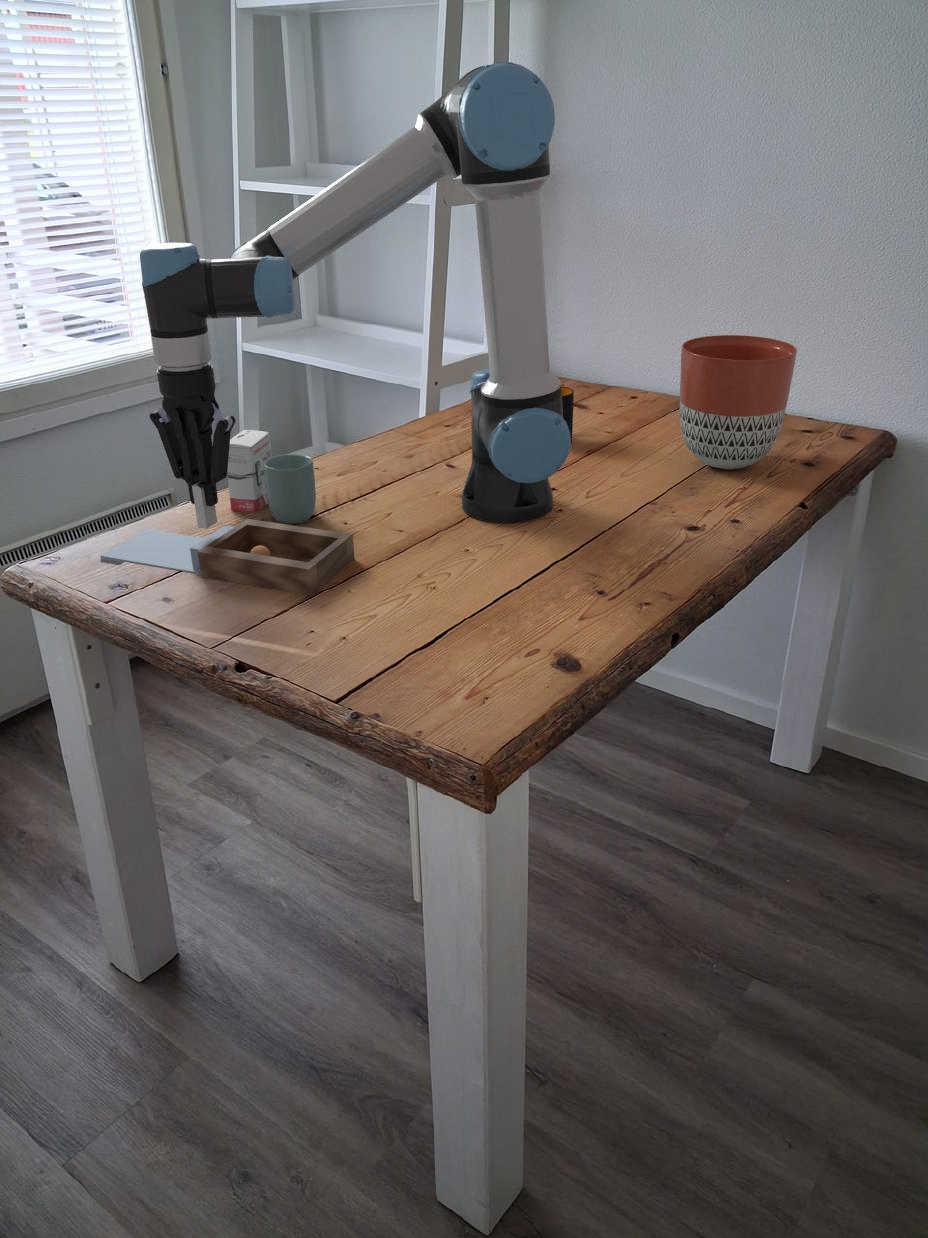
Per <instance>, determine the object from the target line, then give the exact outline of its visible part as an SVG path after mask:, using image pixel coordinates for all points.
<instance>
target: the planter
mask: <svg viewBox="0 0 928 1238" xmlns="http://www.w3.org/2000/svg"><path fill="white" fill-rule="evenodd" d="M680 352H681V353H680V380H679V381H680V383H679V384H680V385H679V386H680V387H679V424H680V431H681V432H680V433H681V435H682V439H683V441H684V443H685V445H686V447H687V449H688V450H689V452H690V453H691V454H692V455H693V456H694V457H695V458H696V459H697V460H698V461H699V462H702V463H703V464H704V465H707V466H709V467H712V468H715V469H720V470H739V469H744V468H746V467H751V465H754V464H755V463H757V462H759V461H760V460H761V459H763V458H764V457H765V456H766V455H767V454H768V453H769V452H770V451H771V450H772V448H774V446H775V444H776V442H777V440H778V438H779V435H780V434H781V430H782V428H783V424H784V420H785V416H786V410H787V406H788V401H789V395H790V389H791V385H792V379H793V376H794V371H795V365H796V359H797V355H798V349H797V347H796V346H794V345H793V344H791V343H789V342H787V341H782V340H778V339H775V338H769V337H764V336H755V335H738V334H736V335H735V334H734V335H732V334H726V335H725V334H719V335H718V334H717V335H708V336H707V335H706V336H700V337H695V338H691V339H688V340H686V341H685V342H683V343H682V345H681V351H680Z"/></svg>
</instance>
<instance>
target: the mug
mask: <svg viewBox="0 0 928 1238" xmlns="http://www.w3.org/2000/svg"><path fill="white" fill-rule="evenodd" d="M561 392H562V408H563V419H564V420H565V421H566V423H567V425H568V427H569V431H570V436H571V445H573V428H574V427H573V425H574V423H573V422H574V401H575V400H574V399H575V398H574V397H575V394H574V393H575V392H574V390H573V388H570V387H569V386H562V385H561Z"/></svg>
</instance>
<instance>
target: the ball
mask: <svg viewBox="0 0 928 1238" xmlns="http://www.w3.org/2000/svg"><path fill="white" fill-rule="evenodd" d="M250 553H252V554H258V555H264V556H271V554H270V551H269V549H268V548H266V547H265V546H261V545H259V546H256V547H254V548H253V549H252V550H251V552H250Z"/></svg>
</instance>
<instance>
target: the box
mask: <svg viewBox="0 0 928 1238" xmlns="http://www.w3.org/2000/svg"><path fill="white" fill-rule="evenodd" d="M233 527H234V528H233V529H231V530H230V531H228V532H226V533H225V534H223V535H222V536H220V537H219V538H217V539H216V540H214V541H213V542H211V543H210V544H208V545H207V546H205V547H204V548H202V549H201V550H199V551H198V559H199V565H200V572H201V574H200V577H201V578H203V579H209V580H214V581H220V582H225V583H226V582H227V583H231V584H239V585H244V586H250V587H256V588H261V589H268V590H273V591H279V592H285V593H290V594H296V595H297V594H298V595H303V596H309V597H313V595H314V594H316V593H317V592H318V591H320V589H321V588H323V587H324V586H325V585H326V584H328V583H329V582H330V581H331V580H332V579H333V578H335V577H336V576H337V575H338V574H339V573H341V571H343V570H344V569H345V568H346V567H347V566H349V565H350V564H351V563H352V562H353V561H354V560H355V549H354V548H355V547H354V545H355V544H354V534H353V533H347V532H342V531H335V530H327V529H326V530H325V529H320V528H313V527H306V526H298V525H294V524H285V523H281V522H272V521H264V520H257V519H250V518H246V519H245V520H243V521H242V522H240V523H239V524H237V525H236V526H233ZM259 545H261V546H265V547H266V548H268V549H269V551H270V554H271V556H264V555H258V554H252V553H250V552H251V550H252V549H253V548H254V547H256V546H259Z"/></svg>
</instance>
